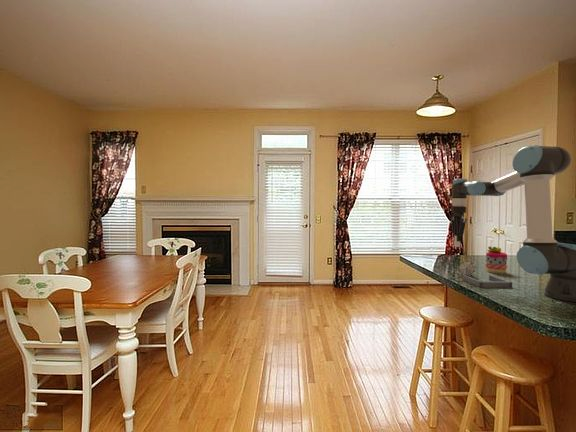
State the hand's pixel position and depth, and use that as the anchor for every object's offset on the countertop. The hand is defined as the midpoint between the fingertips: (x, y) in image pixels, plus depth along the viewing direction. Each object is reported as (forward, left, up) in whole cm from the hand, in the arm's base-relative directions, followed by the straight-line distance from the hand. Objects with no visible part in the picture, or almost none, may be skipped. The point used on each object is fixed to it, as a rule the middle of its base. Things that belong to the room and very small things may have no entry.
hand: (457, 246), depth 189 cm
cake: (+1, -24, -15) cm, 28 cm away
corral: (-26, 0, -15) cm, 30 cm away
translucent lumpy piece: (-10, 0, -15) cm, 18 cm away
